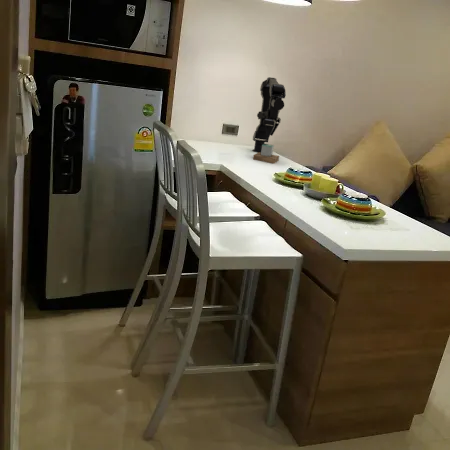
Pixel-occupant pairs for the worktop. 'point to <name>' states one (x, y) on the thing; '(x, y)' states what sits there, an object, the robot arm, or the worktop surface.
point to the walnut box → (266, 158)
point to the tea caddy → (267, 150)
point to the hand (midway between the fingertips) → (269, 136)
